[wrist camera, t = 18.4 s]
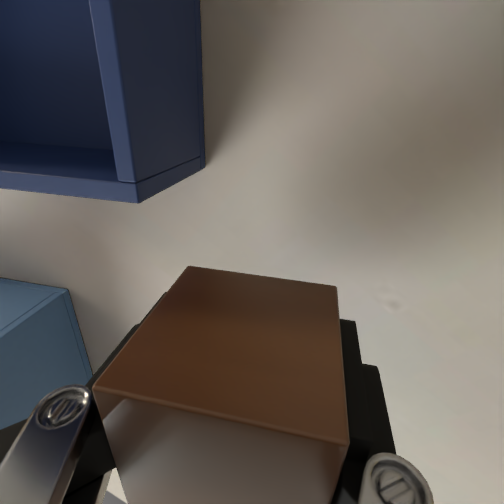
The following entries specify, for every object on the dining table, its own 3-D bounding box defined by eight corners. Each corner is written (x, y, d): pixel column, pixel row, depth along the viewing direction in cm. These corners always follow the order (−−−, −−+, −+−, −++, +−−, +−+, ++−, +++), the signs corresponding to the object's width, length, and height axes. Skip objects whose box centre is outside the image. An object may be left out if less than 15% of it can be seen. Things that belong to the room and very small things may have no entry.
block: (187, 264, 10) (88, 387, 6) (337, 285, 9) (351, 445, 5) (195, 367, 13) (128, 510, 8) (316, 391, 12) (313, 564, 7)
